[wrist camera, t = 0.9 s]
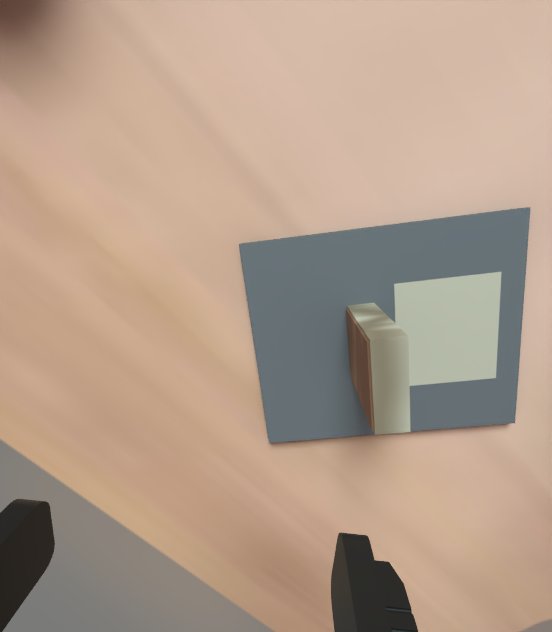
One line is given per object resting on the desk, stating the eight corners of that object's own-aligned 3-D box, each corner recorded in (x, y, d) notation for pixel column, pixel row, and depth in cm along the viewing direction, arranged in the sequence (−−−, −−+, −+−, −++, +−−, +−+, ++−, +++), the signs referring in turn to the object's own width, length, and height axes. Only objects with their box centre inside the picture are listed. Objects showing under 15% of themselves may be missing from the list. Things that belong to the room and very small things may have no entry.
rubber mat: (521, 208, 28) (530, 207, 27) (508, 417, 33) (514, 423, 32) (240, 243, 30) (239, 244, 29) (269, 436, 35) (269, 443, 34)
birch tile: (374, 302, 30) (408, 335, 21) (377, 374, 32) (410, 432, 23) (345, 305, 30) (367, 339, 21) (350, 377, 32) (372, 435, 23)
